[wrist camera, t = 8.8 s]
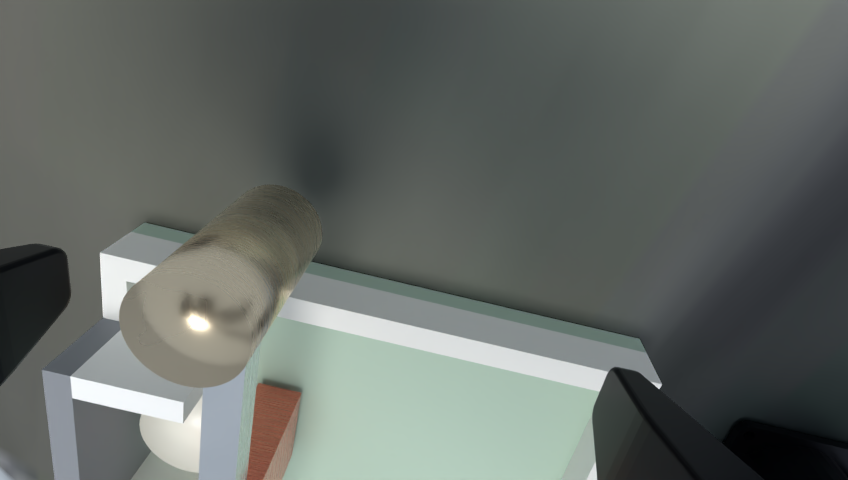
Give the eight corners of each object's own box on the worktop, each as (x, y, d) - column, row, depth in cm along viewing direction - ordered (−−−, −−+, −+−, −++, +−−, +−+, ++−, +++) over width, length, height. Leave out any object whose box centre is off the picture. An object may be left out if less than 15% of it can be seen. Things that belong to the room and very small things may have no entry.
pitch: (639, 338, 23) (694, 450, 17) (529, 567, 30) (543, 702, 24) (144, 222, 23) (33, 296, 17) (147, 479, 29) (68, 594, 24)
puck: (262, 373, 24) (242, 410, 22) (254, 442, 26) (234, 482, 24) (169, 351, 24) (139, 385, 22) (167, 421, 26) (139, 459, 24)
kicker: (349, 168, 19) (256, 292, 11) (287, 542, 28) (211, 764, 20) (269, 149, 19) (117, 260, 11) (233, 530, 28) (134, 747, 20)
